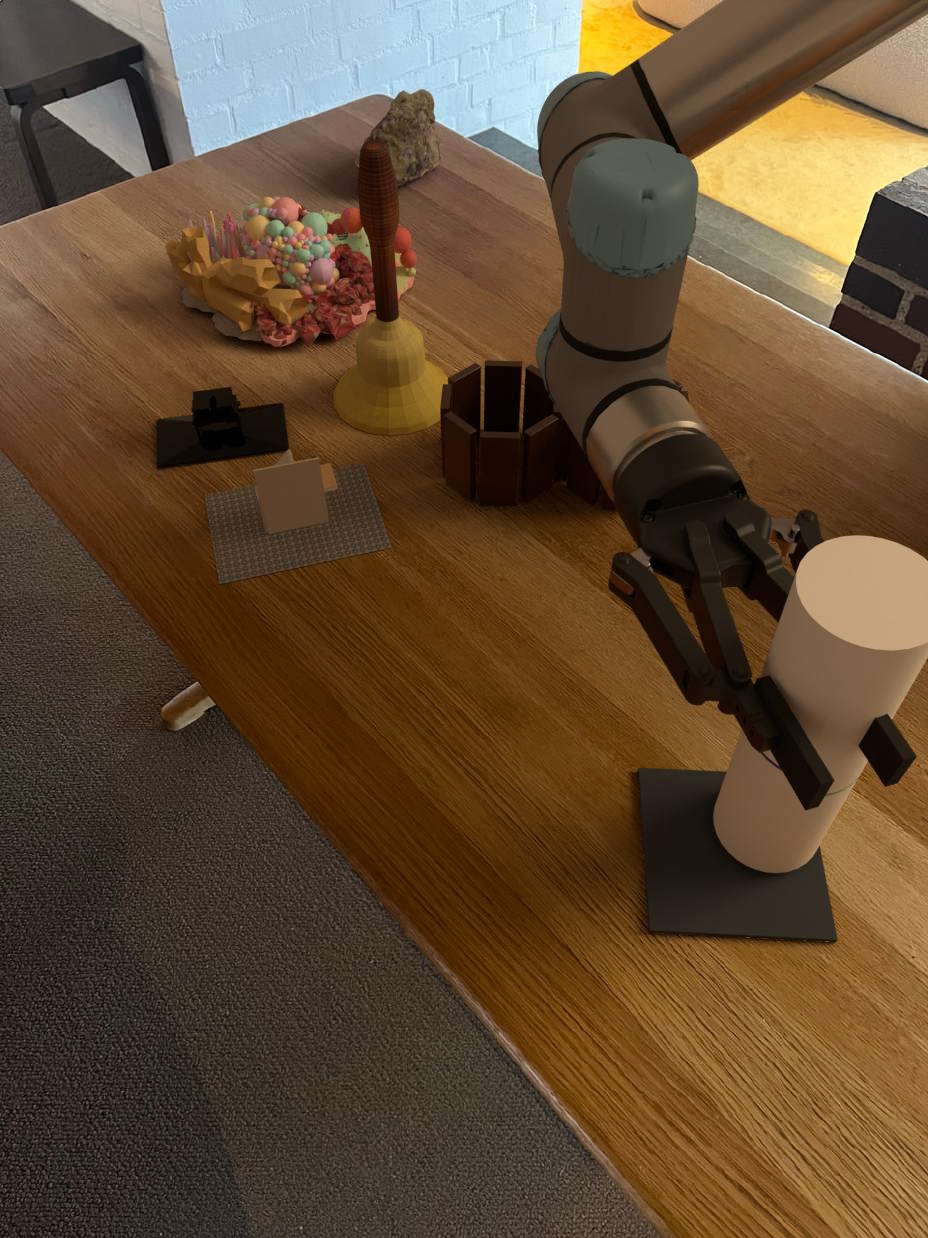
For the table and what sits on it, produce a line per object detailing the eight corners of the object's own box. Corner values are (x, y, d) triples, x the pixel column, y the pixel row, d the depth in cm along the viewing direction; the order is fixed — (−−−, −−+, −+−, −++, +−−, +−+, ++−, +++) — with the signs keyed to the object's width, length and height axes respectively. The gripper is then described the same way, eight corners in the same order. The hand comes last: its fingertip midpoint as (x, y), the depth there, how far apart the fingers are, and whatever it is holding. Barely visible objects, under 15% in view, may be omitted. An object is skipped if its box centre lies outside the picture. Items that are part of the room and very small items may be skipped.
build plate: (157, 470, 90) (143, 431, 86) (157, 421, 95) (144, 382, 91) (289, 450, 91) (281, 412, 88) (283, 403, 96) (275, 364, 92)
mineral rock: (364, 204, 120) (356, 121, 112) (337, 166, 126) (328, 85, 119) (459, 183, 123) (458, 102, 115) (428, 147, 129) (425, 67, 122)
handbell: (456, 358, 100) (453, 110, 81) (452, 436, 93) (448, 183, 73) (339, 356, 101) (307, 109, 81) (325, 434, 93) (287, 182, 73)
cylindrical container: (725, 764, 68) (809, 520, 49) (828, 795, 67) (958, 556, 47) (702, 851, 64) (783, 625, 45) (810, 888, 63) (944, 668, 43)
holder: (669, 434, 93) (684, 365, 86) (679, 512, 86) (695, 443, 80) (447, 427, 93) (445, 358, 87) (439, 503, 87) (437, 435, 81)
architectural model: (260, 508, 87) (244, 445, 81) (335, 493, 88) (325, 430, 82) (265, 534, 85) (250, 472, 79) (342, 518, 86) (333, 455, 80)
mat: (804, 778, 69) (806, 774, 69) (835, 943, 62) (838, 940, 61) (637, 770, 70) (638, 767, 69) (648, 933, 62) (649, 930, 62)
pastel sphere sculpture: (312, 377, 98) (299, 297, 91) (143, 309, 106) (119, 230, 99) (442, 263, 112) (440, 185, 104) (283, 209, 119) (271, 134, 112)
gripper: (768, 490, 66) (975, 777, 52) (537, 543, 63) (691, 862, 49) (798, 403, 60) (1040, 700, 46) (544, 456, 57) (721, 792, 43)
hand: (859, 783), depth 48 cm, fingers open, 4 cm apart
